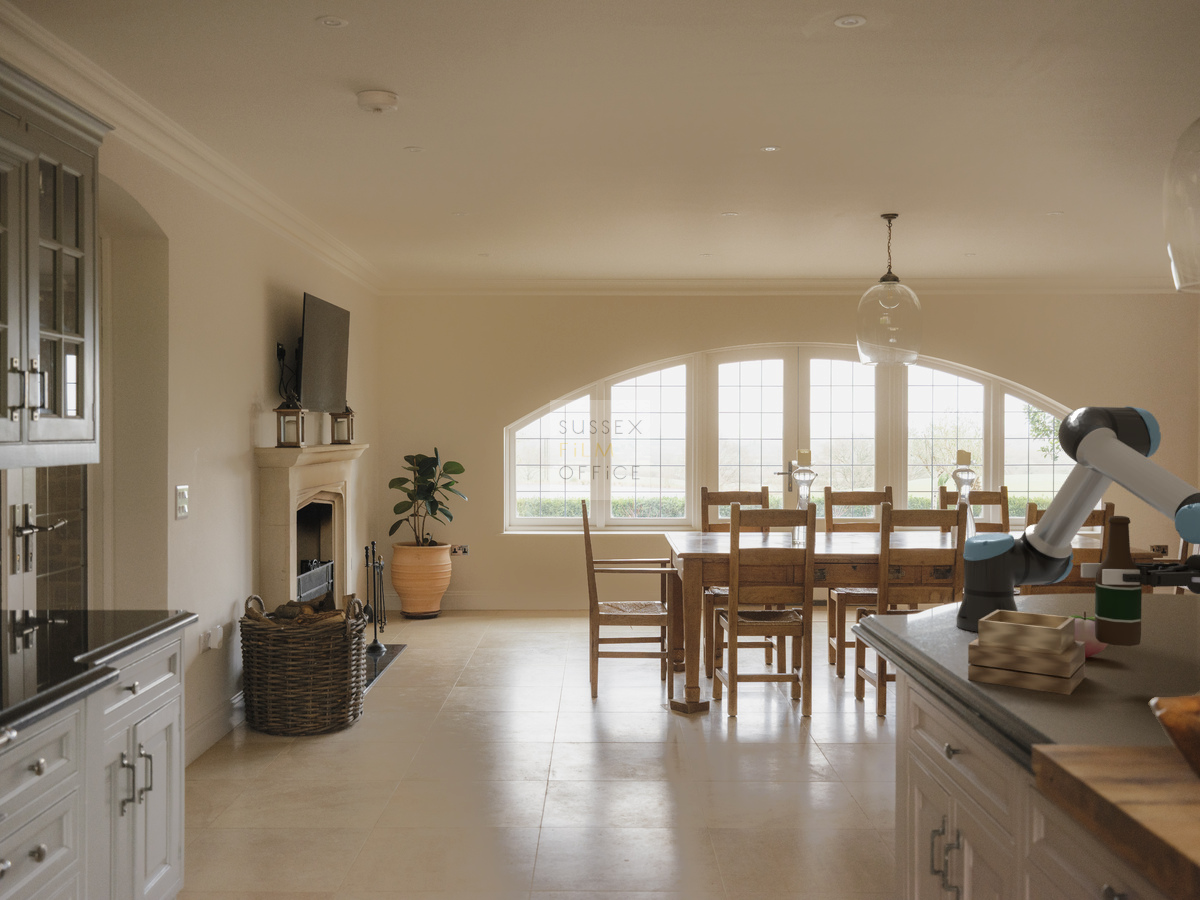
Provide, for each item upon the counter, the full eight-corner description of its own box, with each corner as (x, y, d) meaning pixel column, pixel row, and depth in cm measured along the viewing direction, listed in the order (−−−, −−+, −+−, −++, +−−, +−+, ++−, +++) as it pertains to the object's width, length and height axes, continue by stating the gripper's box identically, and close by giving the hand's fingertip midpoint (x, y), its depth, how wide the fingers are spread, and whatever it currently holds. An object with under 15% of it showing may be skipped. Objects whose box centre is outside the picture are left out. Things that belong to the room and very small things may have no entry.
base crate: (968, 679, 180) (968, 644, 179) (989, 664, 192) (989, 630, 192) (1069, 694, 169) (1069, 656, 169) (1084, 677, 181) (1084, 642, 181)
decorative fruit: (1110, 656, 200) (1110, 610, 200) (1109, 663, 193) (1109, 616, 193) (1062, 651, 204) (1062, 606, 204) (1059, 658, 197) (1059, 612, 197)
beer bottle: (1098, 635, 180) (1100, 513, 179) (1144, 641, 175) (1146, 516, 174) (1090, 642, 174) (1092, 516, 173) (1137, 648, 169) (1139, 519, 168)
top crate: (978, 644, 179) (978, 620, 179) (997, 632, 191) (997, 609, 191) (1060, 654, 170) (1060, 629, 170) (1074, 641, 182) (1074, 617, 182)
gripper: (1250, 604, 163) (1120, 602, 164) (1182, 585, 184) (1066, 584, 185) (1251, 562, 163) (1121, 561, 164) (1182, 548, 184) (1067, 547, 184)
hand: (1092, 573), depth 174 cm, fingers closed on beer bottle, 7 cm apart
